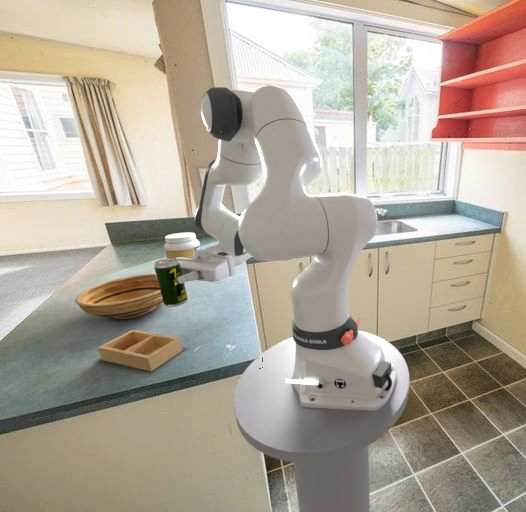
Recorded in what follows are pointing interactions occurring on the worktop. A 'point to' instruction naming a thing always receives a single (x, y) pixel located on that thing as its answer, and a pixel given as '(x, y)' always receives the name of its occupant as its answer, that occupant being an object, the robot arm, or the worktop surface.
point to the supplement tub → (181, 245)
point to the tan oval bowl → (122, 297)
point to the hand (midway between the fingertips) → (167, 279)
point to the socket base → (140, 349)
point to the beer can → (170, 282)
